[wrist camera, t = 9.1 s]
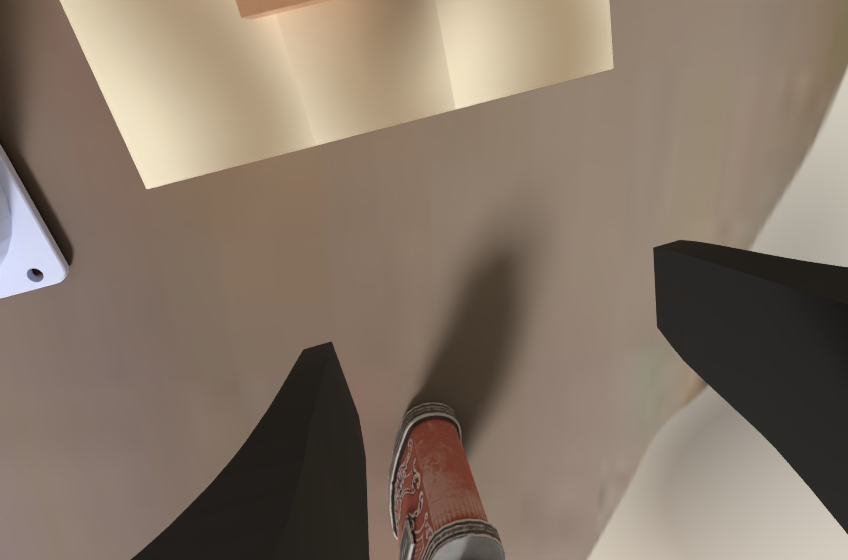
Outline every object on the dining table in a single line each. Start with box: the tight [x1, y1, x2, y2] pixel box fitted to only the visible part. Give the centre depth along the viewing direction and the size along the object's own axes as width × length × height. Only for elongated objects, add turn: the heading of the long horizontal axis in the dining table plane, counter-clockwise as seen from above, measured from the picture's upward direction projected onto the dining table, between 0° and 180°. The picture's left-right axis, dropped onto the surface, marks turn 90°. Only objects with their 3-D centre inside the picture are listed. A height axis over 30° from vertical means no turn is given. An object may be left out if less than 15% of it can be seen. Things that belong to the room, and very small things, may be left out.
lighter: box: [388, 402, 505, 560], centre depth 22 cm, size 8×3×10 cm, turn 173°
